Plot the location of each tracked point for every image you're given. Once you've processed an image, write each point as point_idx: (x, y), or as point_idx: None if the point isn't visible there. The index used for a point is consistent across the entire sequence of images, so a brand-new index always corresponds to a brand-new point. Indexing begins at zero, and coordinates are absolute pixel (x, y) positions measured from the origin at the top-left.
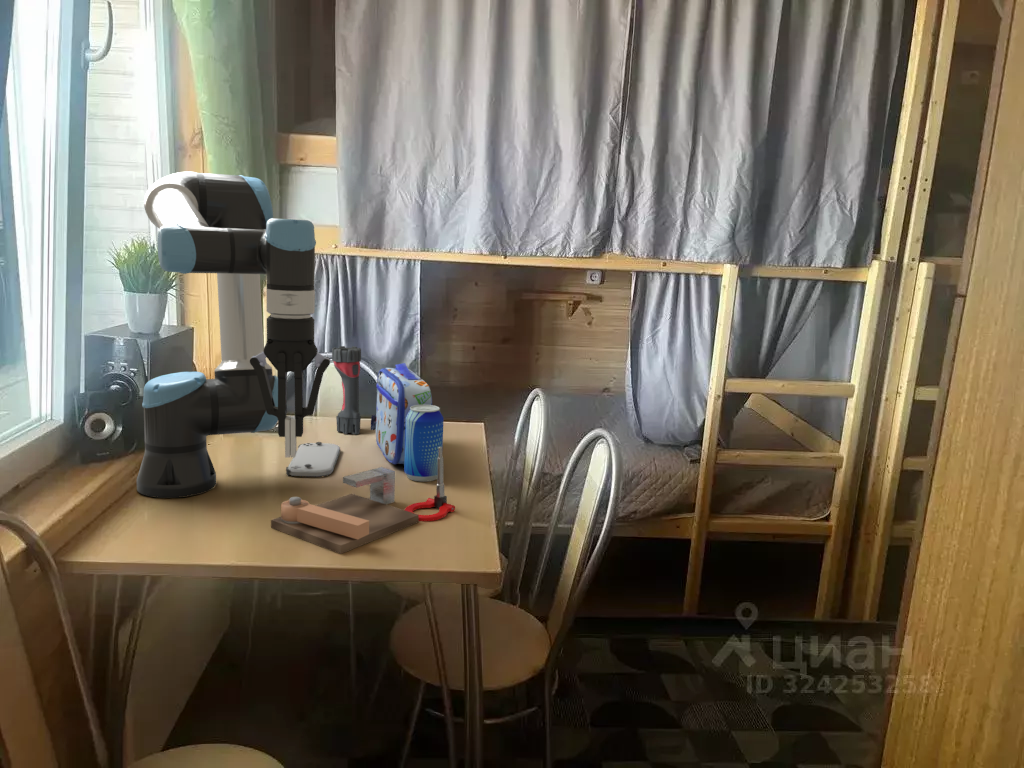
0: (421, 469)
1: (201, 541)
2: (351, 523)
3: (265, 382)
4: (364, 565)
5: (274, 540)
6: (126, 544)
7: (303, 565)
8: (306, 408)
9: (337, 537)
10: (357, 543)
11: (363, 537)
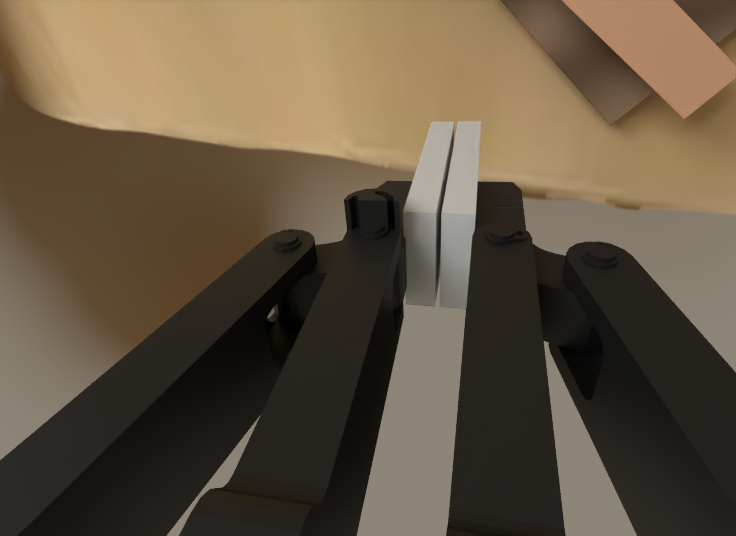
0: None
1: (236, 13)
2: (667, 98)
3: (172, 512)
4: (653, 189)
5: (422, 7)
6: (86, 32)
7: (503, 177)
8: (555, 343)
9: (611, 62)
10: None
11: None
